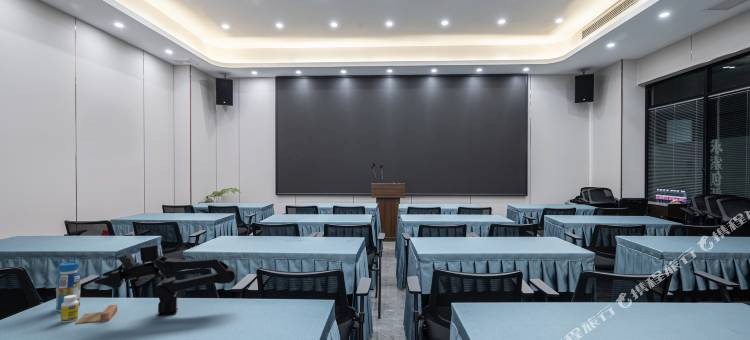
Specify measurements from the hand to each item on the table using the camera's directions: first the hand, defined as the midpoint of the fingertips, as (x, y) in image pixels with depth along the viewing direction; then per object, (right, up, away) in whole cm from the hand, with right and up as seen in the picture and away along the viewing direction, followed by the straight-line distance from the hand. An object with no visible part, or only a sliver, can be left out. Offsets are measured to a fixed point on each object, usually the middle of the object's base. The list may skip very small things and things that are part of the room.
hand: (98, 278), depth 148 cm
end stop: (-2, -17, +2) cm, 17 cm away
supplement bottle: (-11, -17, -1) cm, 20 cm away
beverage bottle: (-22, -17, +11) cm, 30 cm away
